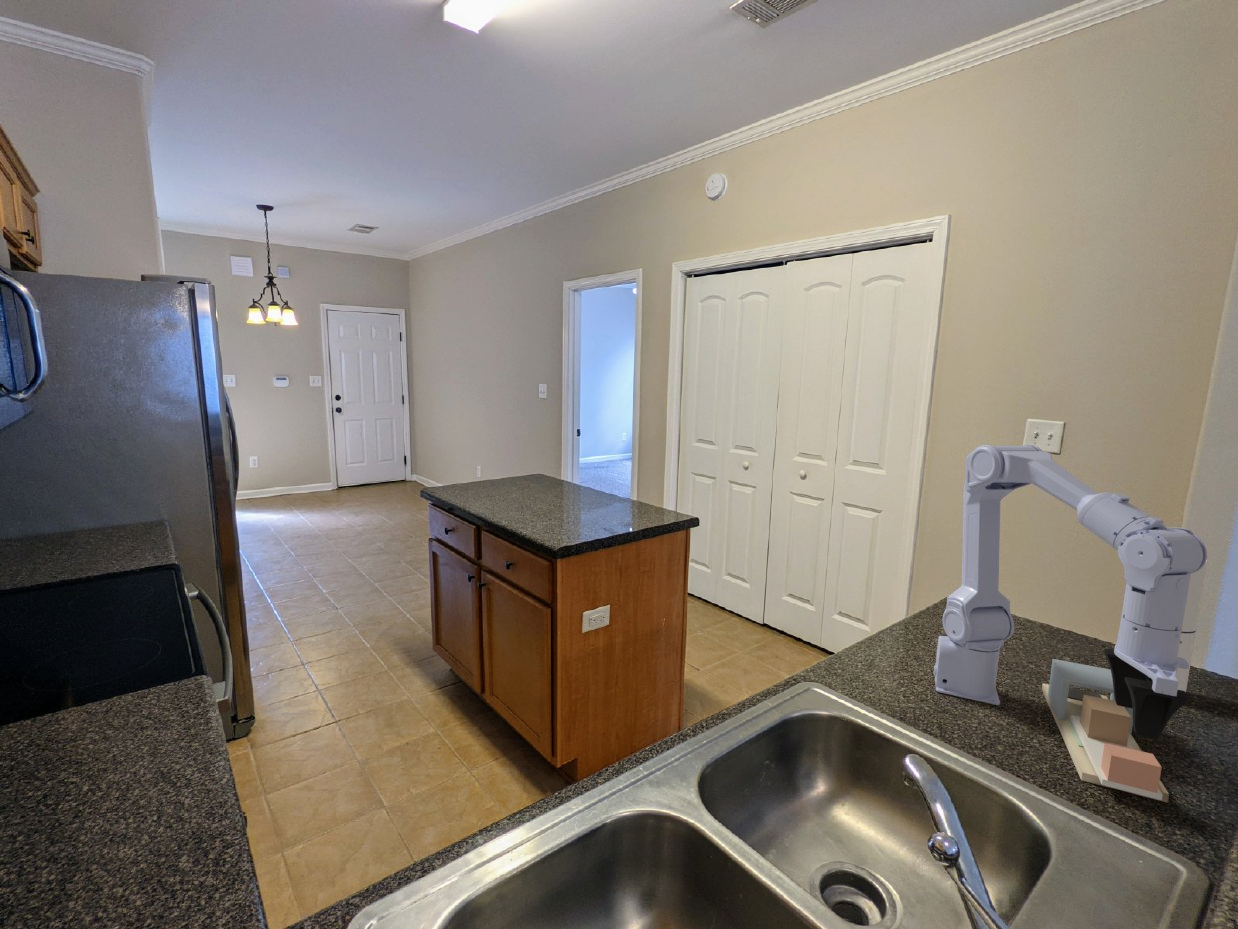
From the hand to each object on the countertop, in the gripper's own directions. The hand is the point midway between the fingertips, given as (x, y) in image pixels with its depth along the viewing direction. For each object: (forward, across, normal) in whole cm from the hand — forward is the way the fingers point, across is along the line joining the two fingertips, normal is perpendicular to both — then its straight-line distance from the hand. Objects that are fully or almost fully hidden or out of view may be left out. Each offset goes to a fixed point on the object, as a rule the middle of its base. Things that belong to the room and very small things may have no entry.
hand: (1135, 720), depth 75 cm
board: (+10, +14, 0) cm, 17 cm away
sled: (+9, +6, 0) cm, 11 cm away
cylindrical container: (+11, +37, -14) cm, 41 cm away
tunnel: (+10, +19, 0) cm, 21 cm away
